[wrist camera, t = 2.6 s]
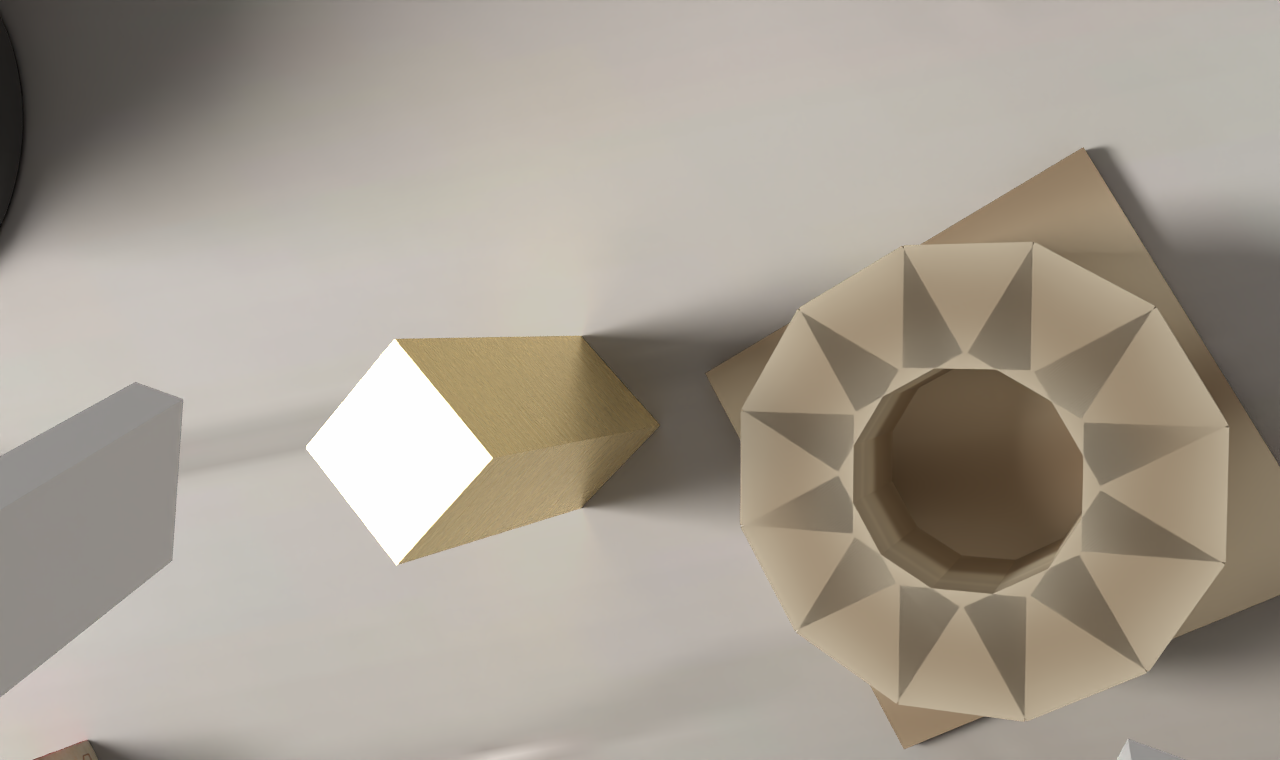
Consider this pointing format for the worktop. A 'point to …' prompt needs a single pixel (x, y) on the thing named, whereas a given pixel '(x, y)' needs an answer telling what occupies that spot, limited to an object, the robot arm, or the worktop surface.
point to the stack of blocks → (72, 753)
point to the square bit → (477, 438)
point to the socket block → (1001, 464)
